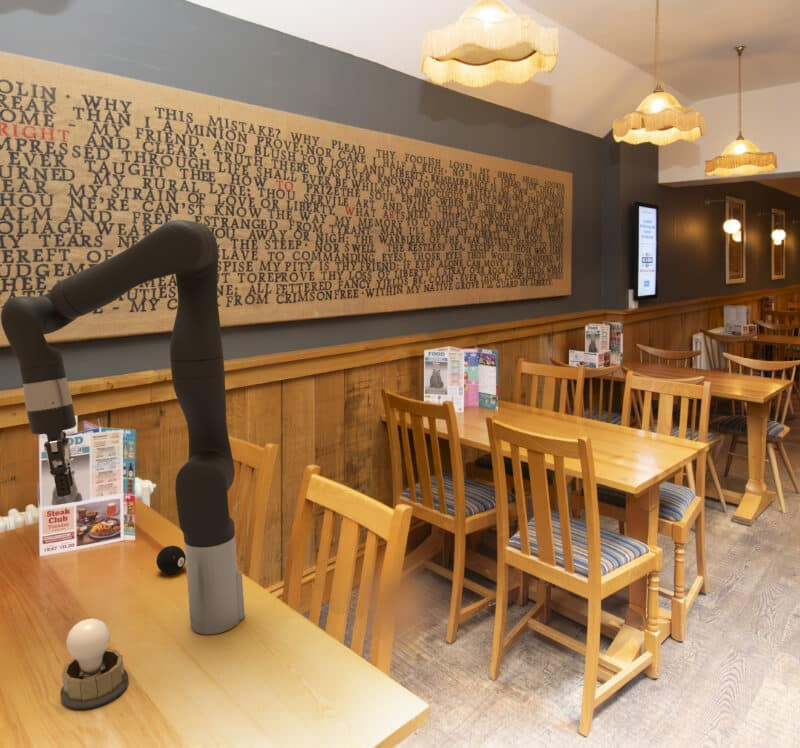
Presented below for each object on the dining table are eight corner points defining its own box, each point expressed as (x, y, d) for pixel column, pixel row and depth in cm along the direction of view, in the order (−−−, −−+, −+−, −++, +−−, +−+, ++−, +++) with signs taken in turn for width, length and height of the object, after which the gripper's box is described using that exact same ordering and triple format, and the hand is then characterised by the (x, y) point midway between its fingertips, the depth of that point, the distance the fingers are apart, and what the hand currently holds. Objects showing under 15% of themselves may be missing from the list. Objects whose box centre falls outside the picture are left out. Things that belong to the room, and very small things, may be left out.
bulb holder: (114, 663, 113) (111, 639, 113) (139, 688, 106) (136, 663, 106) (51, 690, 106) (48, 665, 106) (74, 719, 99) (71, 692, 99)
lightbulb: (97, 698, 102) (91, 634, 101) (62, 694, 104) (55, 630, 102) (122, 674, 109) (116, 612, 107) (88, 669, 110) (82, 609, 108)
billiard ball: (172, 580, 143) (170, 554, 142) (152, 575, 145) (149, 550, 144) (191, 568, 148) (190, 543, 147) (171, 564, 151) (169, 539, 150)
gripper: (70, 404, 115) (87, 494, 116) (73, 398, 128) (88, 479, 129) (22, 412, 112) (40, 504, 113) (30, 405, 125) (46, 488, 126)
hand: (66, 491), depth 121 cm, fingers open, 8 cm apart
